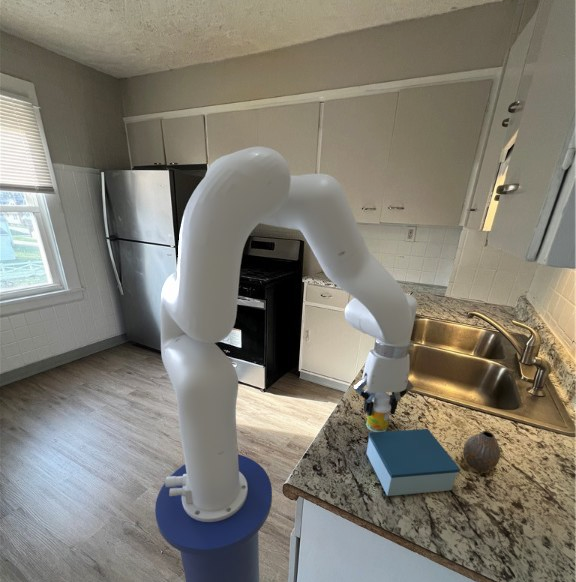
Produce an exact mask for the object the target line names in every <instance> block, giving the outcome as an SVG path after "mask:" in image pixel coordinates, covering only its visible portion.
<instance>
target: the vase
mask: <svg viewBox="0 0 576 582" xmlns="http://www.w3.org/2000/svg"><path fill="white" fill-rule="evenodd" d="M462 455H463V459H464V460H465V463H466V464H467V465H468V466H469V467H470V468H471V469H472V470H475V471H478V472H489V471H491V470H493V469H494V468H495V467H496V466H497V465H498V464H499V462H500V459H501V448H500V445H499V444H498V441H497V440H496V437H495V434H494V433H492V432H491V431H489V430H482V431H480V432H479V433H476V434H474V435H472V436H470V437H469V438H467V440H466V442H465V443H464V445H463V448H462Z"/></svg>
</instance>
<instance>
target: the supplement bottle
mask: <svg viewBox="0 0 576 582" xmlns="http://www.w3.org/2000/svg"><path fill="white" fill-rule="evenodd" d="M390 395H391V394H389V393H388V392H386V393H376V394H375V396H374V398H373V400H372V402H373V410H372V415H371V416H368V415H367V416H366V423H365V424H366V428H367V429H368V430H370V431H371V432H387V429H388V427H389V422H390V421H389V420H390V416H391V413H390V411H391V404H390V403H389V401H390Z"/></svg>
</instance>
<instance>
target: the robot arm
mask: <svg viewBox="0 0 576 582" xmlns="http://www.w3.org/2000/svg"><path fill="white" fill-rule="evenodd" d="M259 224H262V225H266V226H271V227H277V228H284V229H288V230H289V229H290V230H296V231H300V232H301V234H302V235H303V237H304V239H305V241H306V242H307V244H308V245H309V247H310V250H311V251H312V253H313V254H314V256H315V258H316V260H317V262H318V264H319V266H320V268H321V270H322V271H323V273H324V274H325V276H326V277H327V279H328V280H330V281H331V282H332V283H333V284H334V285H335V286H337V287H338V288H339V289H341V290H342V291H344V292H346V293H347V294H349V295H350V296H352V297H353V298H352V299H351V300H349V302H348V303H347V304H346V306H345V309H344V319H345V321H346V323H347V324H348V325H349V326H350V327H352V328H353V329H355V330H357V331H359V332H361V333H363V334H365V335H368V336H370V337H372V338H373V339H374V346H373V349H370V350H369V352H368V354H367V358H366V360H365V363H364V367H363V372H362V376H361V379H360V380H359V381H358V382H357V383H356V384H355V385H354V386H353V390H354V392H356V393H357V394H358V395H360V396H361V397H362V398H363V399H364V402H363V410H364V412H366V414H367V416H371V415H372V410H373V402H372V400H373V398H374V396H375V394H376V393H391V394H389V395H390V401H389V403H390V404H391V411H390V415H392V416H393V415H395V414H396V410H398V409H397V408H398V405H399V402H400V401H401V400H402V398H403V397H404V396H405V395H407V393H408V392H410V391H411V390H413V389H414V387H415V386H414V385H413V382H411V380H410V379H409V378H410V377H409V376H410V369H411V367H410V364H411V363H410V359H411V358H410V353H409V350H410V349H414V347H415V344H414V342H411V338H412V334H413V329H414V324H415V321H416V316H417V311H418V300H417V298H415V296H412V295H410V294H406V293H405V291H404V289H403V287H402V286H401V284H400V283H399V282H398V281H397V279H395V277H394V276H393V275H392V274H391V273H390V272H389V271H388V269H386V267H385V266H383V264H382V263H381V261H379V260H378V259H377V258H376V257H375V256H374V255H373V254H372V253H371V252H370V250H369V249H368V247H367V243H366V241H365V239H364V237H363V234H362V231H361V229H360V228H359V225H358V222H357V219H356V217H355V215H354V212H353V210H352V207H351V204H350V203H349V200H348V198H347V195H346V193H345V191H344V189H343V187H342V185H341V183H340V182H339V181H338V179H336V178H335V177H333V176H332V175H330V174H326V173H307V174H306V173H305V174H297V175H291V170H290V167H289V164H288V162H287V160H286V159H285V158H284V157H283V155H282V154H281V153H280V152H278V151H277V150H275V149H273V148H270V147H267V146H258V145H257V146H250V147H246V148H243V149H240V150H237V151H234V152H232V153H229V154H226V155H222V156H220V157H218V158H217V159H215V160H214V161H213V162H212V163H211V164H210V165H209V167H208V168H207V170H206V172H205V176H204V177H203V178H202V179H201V180H200V182H199V184H198V185H197V186H196V188H195V189H194V190H193V192H192V194H191V196H190V198H189V199H188V202H187V203H186V206H185V209H184V211H183V215H182V218H181V224H180V230H179V240H178V255H177V256H178V257H177V270H176V271H174V272H173V273H172V274H170V276H168V278H167V279H166V281H165V283H164V284H163V286H162V291H161V296H160V352H161V361H162V363H163V367H164V369H165V371H166V373H167V374H168V377H169V381H170V382H171V384H172V387H173V390H174V393H175V398H176V402H177V417H178V418H177V419H178V427H179V434H180V440H181V445H182V453H183V459H184V464H185V466H186V472H187V474H183V476H179V477H176V476H171V475H170V476H171V477H170V476H166V477H165V480H164V483H165V486H166V487H176V486H182V487H183V488H170V491H169V496H177V495H182V504H183V507H184V510H185V511H186V513H187V514H188V515H189V516H191V517H192V518H194V519H196V520H198V521H202V522H217V521H220V520H224V519H226V518H228V517H230V516H232V515H233V514H235V513H236V512H237V511H238V510H239V509H240V508H241V507H242V505H243V504H244V502H245V500H246V497H247V493H248V487H247V481H246V479H245V477H244V475H243V474H242V473H241V472H239V465H238V454H239V449H238V430H237V411H236V410H237V399H238V391H239V377H238V373H237V370H236V368H235V366H234V365H233V363H232V361H231V360H230V358H229V357H228V356H227V355H226V353H225V352H223V350H222V349H221V348H220V347H219V346H218V345H217V343H220V342H222V341H224V340H225V339H227V337H228V336H229V335H230V334H231V332H232V331H233V329H234V328H235V327H234V326H235V325H236V319H237V312H238V300H239V299H238V298H239V285H240V275H241V265H242V259H243V252H244V248H245V245H246V242H247V240H248V238H249V236H250V235H251V233H252V232H253V231H254V229H255V228H257V226H258V225H259ZM365 387H366V389H365V390H364V389H363V388H365Z"/></svg>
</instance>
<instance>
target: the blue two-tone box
mask: <svg viewBox="0 0 576 582" xmlns="http://www.w3.org/2000/svg"><path fill="white" fill-rule="evenodd" d="M367 436H368V440H367V446H366V456H367V458H368V460H369V462H370V464H371V466H372V468H373V470H374V472H375V474H376V476H377V478H378V480H379V482H380V484H381V487H382V488H383V491H384V492H385V495H386V496H387V497H393V496H402V495H414V494H415V495H416V494H424V493H434V492H445V491H446V492H447V491H453V487H454V484H455V482H456V479H457V476H458V474H459V473H461V470H462V469H461V468H460V466H459V465H458V464H457V463H456V461H455V460H454V459H453V458H452V457H451V456H450V454H449V453H448V452H447V451H446V449H445V448H444V447H443V445H442V444H441V443H440V442H439V440H438V439H437V438H436V437H435V436H434V434H433V433H432V432H431V431H430V429H429V428H418V429H403V430H392V431H391V430H390V431H387V430H386V431H384V432H373V431H371V432H368V435H367Z"/></svg>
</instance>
